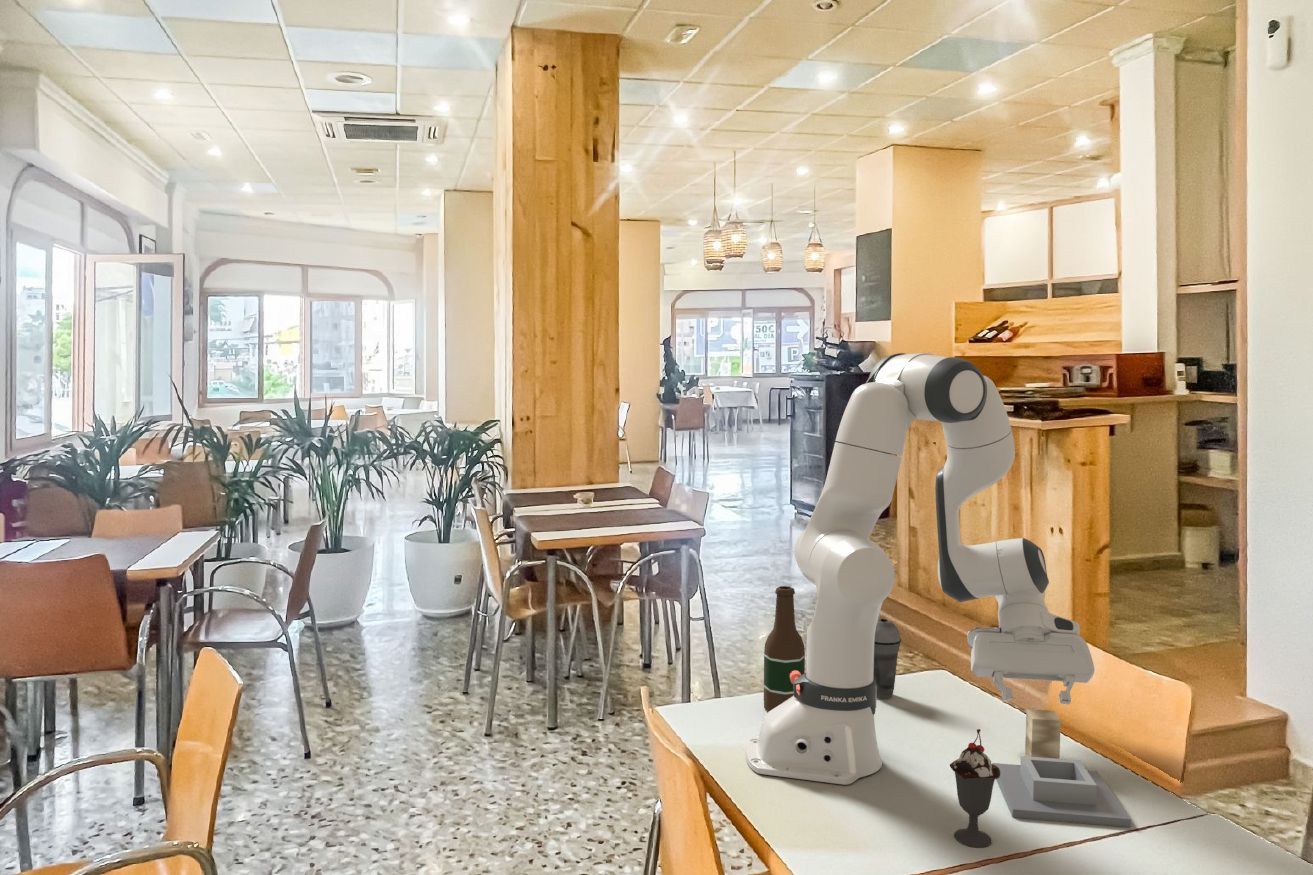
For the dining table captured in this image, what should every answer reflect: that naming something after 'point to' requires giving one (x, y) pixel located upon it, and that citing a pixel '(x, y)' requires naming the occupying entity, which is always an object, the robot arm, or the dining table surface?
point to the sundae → (974, 791)
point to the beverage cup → (885, 657)
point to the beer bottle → (782, 651)
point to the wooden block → (1042, 734)
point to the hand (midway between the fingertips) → (1036, 701)
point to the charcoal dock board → (1059, 792)
